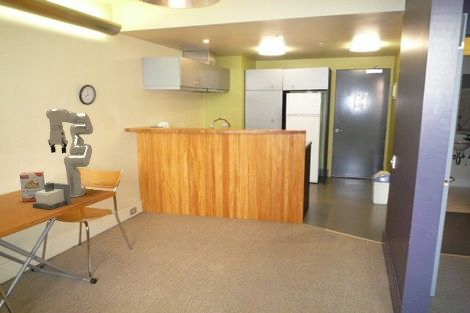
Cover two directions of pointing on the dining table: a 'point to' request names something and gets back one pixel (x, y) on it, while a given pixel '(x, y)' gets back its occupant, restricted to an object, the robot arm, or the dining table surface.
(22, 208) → the dining table surface
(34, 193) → the cracker box
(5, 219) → the dining table surface
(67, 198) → the grey piece
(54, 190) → the white rectangular box
